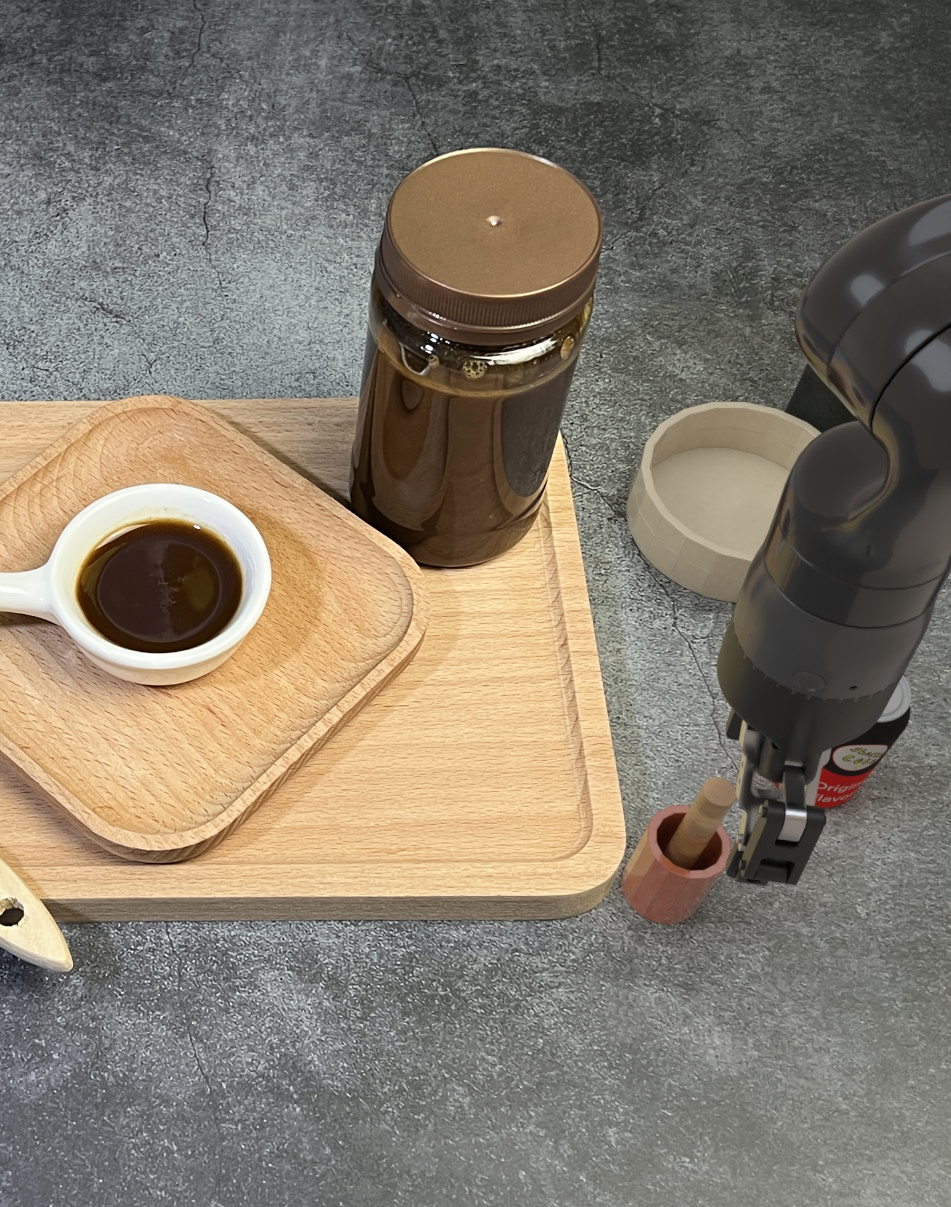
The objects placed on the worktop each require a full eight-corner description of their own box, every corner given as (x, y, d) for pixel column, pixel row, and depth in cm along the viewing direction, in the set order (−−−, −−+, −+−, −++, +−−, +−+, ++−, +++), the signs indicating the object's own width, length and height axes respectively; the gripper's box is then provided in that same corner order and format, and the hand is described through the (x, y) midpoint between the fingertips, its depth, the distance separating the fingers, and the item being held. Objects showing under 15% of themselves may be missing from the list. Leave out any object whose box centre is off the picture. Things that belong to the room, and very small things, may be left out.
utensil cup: (710, 885, 99) (745, 833, 92) (675, 943, 96) (709, 894, 90) (640, 843, 101) (670, 790, 94) (605, 900, 98) (633, 849, 92)
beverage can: (745, 778, 103) (801, 690, 93) (789, 721, 106) (848, 630, 96) (827, 831, 101) (893, 746, 91) (869, 771, 103) (938, 683, 93)
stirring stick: (680, 884, 98) (742, 788, 86) (667, 906, 97) (728, 812, 86) (653, 868, 99) (711, 770, 87) (640, 890, 98) (697, 794, 86)
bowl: (867, 505, 117) (893, 460, 113) (783, 638, 110) (807, 597, 106) (680, 418, 123) (698, 372, 119) (590, 539, 116) (605, 496, 112)
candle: (807, 411, 123) (926, 172, 103) (855, 447, 120) (986, 209, 100) (766, 437, 121) (878, 200, 101) (814, 475, 119) (938, 238, 99)
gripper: (928, 774, 59) (826, 937, 72) (903, 513, 67) (816, 701, 80) (735, 749, 61) (669, 912, 74) (734, 497, 69) (675, 684, 82)
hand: (746, 802), depth 77 cm, fingers open, 8 cm apart
